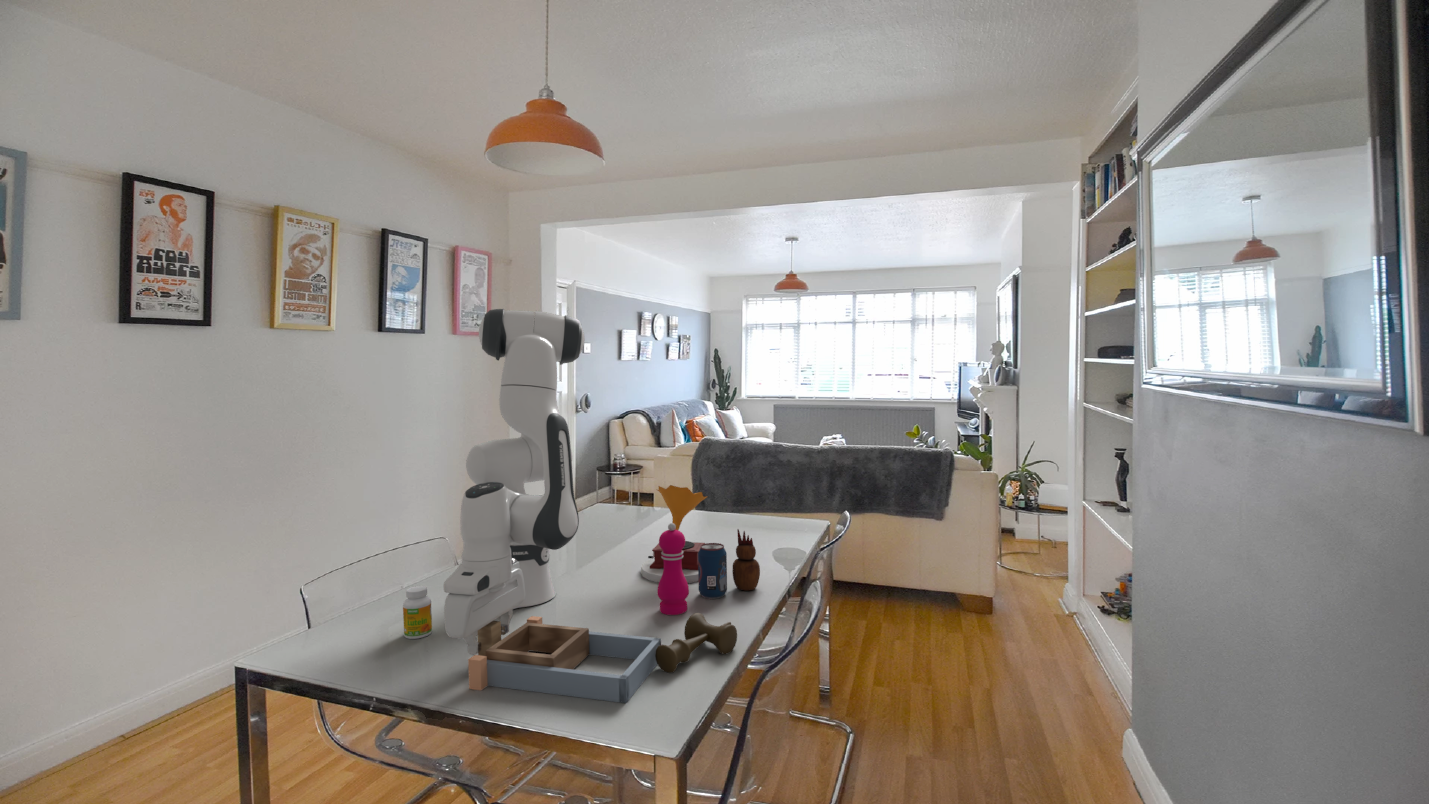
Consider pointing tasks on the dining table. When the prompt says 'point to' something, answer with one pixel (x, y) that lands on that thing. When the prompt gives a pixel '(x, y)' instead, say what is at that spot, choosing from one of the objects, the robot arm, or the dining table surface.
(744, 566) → the wooden figurine
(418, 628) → the supplement bottle
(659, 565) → the gramophone
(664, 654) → the kendama
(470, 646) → the robot arm
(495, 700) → the dining table surface
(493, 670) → the frame
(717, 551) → the soda can
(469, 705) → the dining table surface
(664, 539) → the pepper mill
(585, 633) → the wooden square frame
